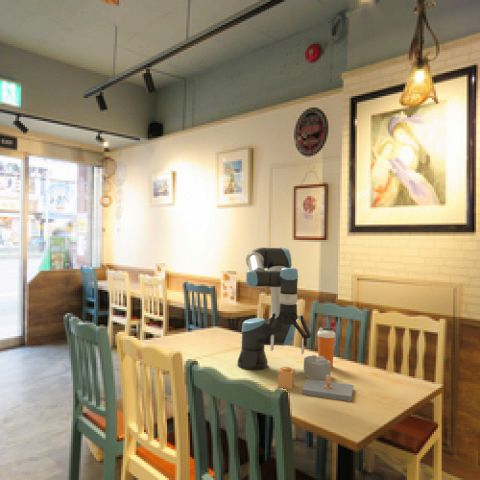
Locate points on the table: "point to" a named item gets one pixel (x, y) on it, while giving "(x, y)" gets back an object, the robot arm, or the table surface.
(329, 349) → the shaker bottle
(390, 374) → the table surface
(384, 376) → the table surface
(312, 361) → the lumpy-topped squat cylinder
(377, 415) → the table surface
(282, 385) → the tan hollow block
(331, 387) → the plate
